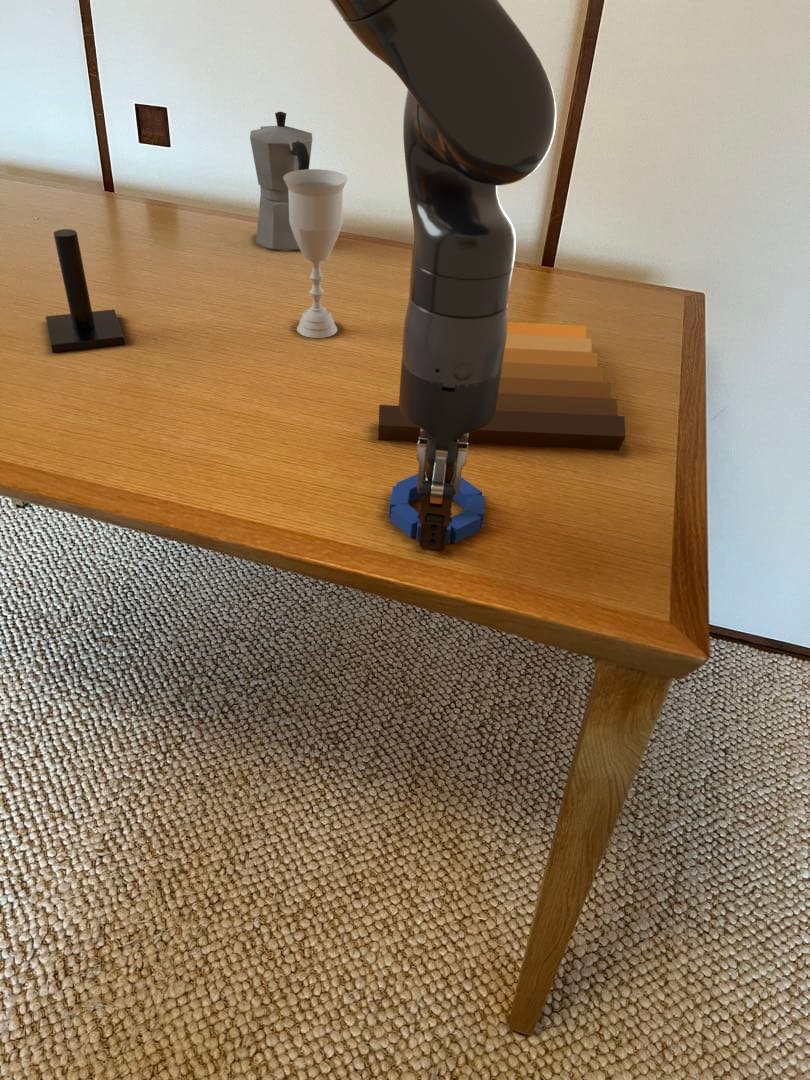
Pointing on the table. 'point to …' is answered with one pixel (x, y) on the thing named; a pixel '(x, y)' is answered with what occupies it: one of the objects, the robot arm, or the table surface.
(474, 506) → the ring
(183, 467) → the table surface
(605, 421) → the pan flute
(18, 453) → the table surface
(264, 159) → the coffeepot
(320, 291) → the chalice
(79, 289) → the black peg stand
